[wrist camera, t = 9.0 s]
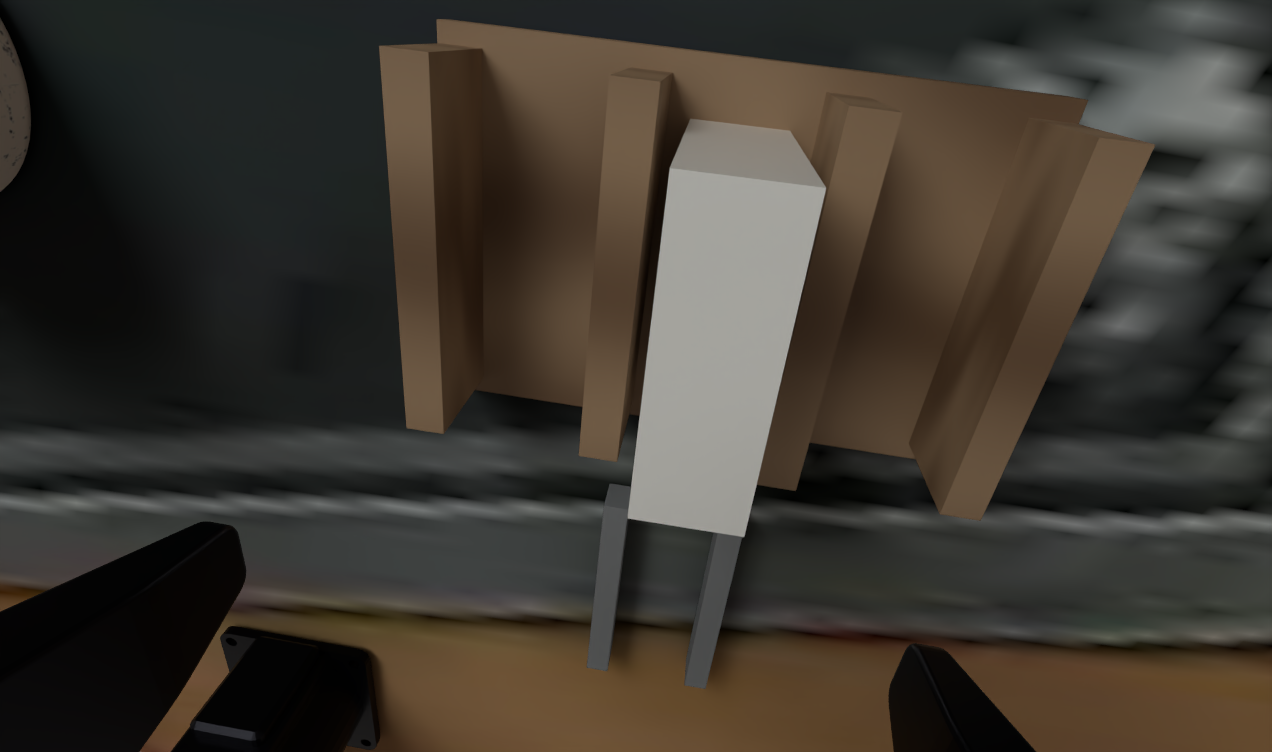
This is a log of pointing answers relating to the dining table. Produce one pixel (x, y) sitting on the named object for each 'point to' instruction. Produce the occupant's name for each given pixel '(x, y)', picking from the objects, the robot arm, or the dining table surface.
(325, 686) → the robot arm
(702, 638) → the rails
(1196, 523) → the dining table surface
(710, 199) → the upright white panel
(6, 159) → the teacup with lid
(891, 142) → the rack
